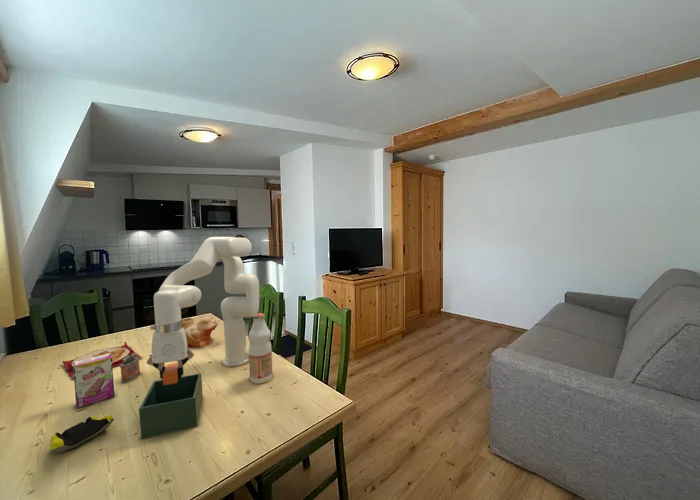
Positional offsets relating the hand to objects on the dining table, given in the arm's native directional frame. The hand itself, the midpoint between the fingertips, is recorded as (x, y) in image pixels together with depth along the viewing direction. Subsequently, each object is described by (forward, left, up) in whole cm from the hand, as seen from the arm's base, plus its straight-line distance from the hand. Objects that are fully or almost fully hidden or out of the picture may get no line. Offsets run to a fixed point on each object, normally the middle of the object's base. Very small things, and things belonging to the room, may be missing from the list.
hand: (172, 378), depth 102 cm
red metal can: (+23, -37, -14) cm, 46 cm away
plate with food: (+41, -61, -14) cm, 75 cm away
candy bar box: (+30, -22, -14) cm, 40 cm away
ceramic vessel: (+2, -69, -14) cm, 71 cm away
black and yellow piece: (+25, +3, -14) cm, 29 cm away
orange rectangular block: (0, 0, 0) cm, 0 cm away
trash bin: (0, 0, -14) cm, 14 cm away
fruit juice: (-30, -15, -14) cm, 36 cm away
